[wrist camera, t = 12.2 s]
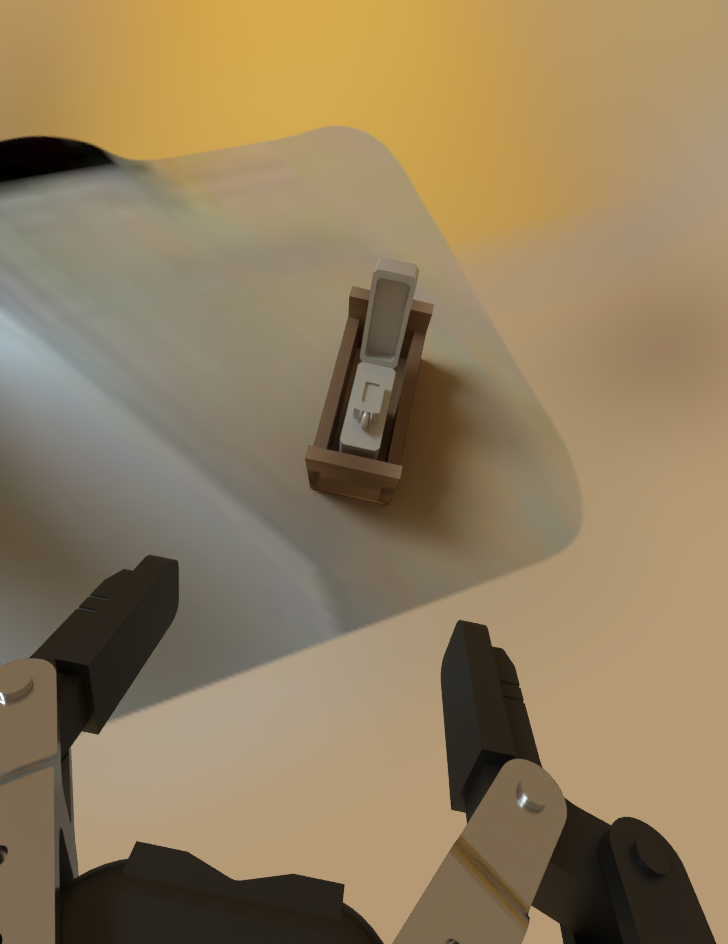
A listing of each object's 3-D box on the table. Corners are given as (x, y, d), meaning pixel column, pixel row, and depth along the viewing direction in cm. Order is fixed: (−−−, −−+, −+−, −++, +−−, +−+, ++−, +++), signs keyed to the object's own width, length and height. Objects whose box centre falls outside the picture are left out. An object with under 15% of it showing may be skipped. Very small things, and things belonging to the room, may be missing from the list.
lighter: (370, 481, 22) (390, 412, 15) (337, 474, 22) (340, 401, 15) (395, 365, 25) (422, 254, 17) (365, 359, 25) (379, 244, 17)
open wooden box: (310, 487, 22) (305, 458, 18) (348, 341, 25) (352, 286, 21) (387, 505, 22) (400, 479, 18) (416, 356, 25) (434, 304, 21)
